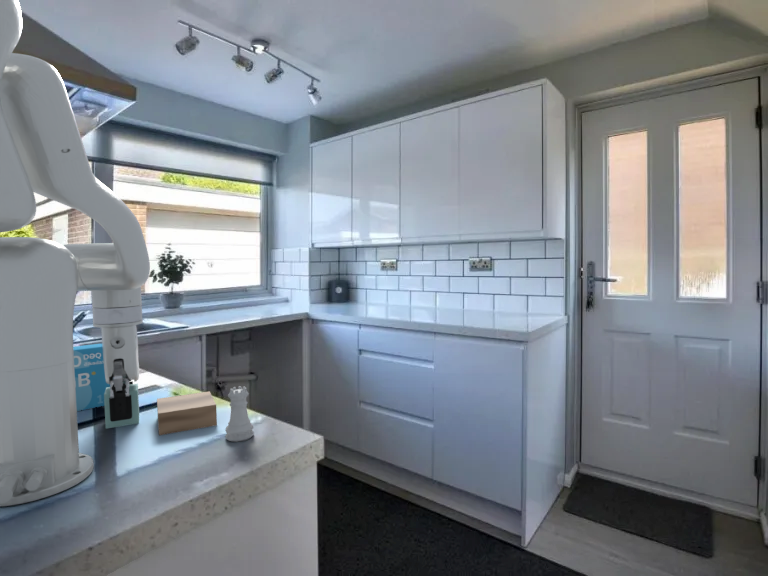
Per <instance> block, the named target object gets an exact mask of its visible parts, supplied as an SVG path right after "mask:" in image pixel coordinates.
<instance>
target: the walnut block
mask: <svg viewBox="0 0 768 576" xmlns="http://www.w3.org/2000/svg"><path fill="white" fill-rule="evenodd" d="M156 407H157V409H156V410H157V426H158V435H159V436H163V435H169V434H170V435H171V434H174V433H181V432H187V431H190V430H191V431H192V430H193V431H194V430H197V429H204V428H209V427H215V426H218V418H217V417H218V416H217V404H216V401H215V399H214V397H213V396H212V393H211V391H204V392H203V391H202V392H195V393H190V394H188V393H187V394H181V395H173V396H169V397H168V396H167V397H160V398H157V399H156Z"/></svg>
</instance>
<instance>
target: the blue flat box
mask: <svg viewBox="0 0 768 576" xmlns="http://www.w3.org/2000/svg"><path fill="white" fill-rule="evenodd" d="M73 351H74V370H75V389H76V407H77V412H80V411H81V410H82V411H85V410H86V409H87V410H91V409H90V408H92V409H96V408H95V407H97V408H101V406H102V407H105V405H104V393H105V390H106V387H110V385H109V384H107V383H106V379H105V371H104V361H103V348H102V343H94V344H86V345H85V344H84V345H78V346H77V345H76V346H73ZM113 379H114V377H113ZM82 411H81V412H82Z"/></svg>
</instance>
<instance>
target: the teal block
mask: <svg viewBox="0 0 768 576" xmlns="http://www.w3.org/2000/svg"><path fill="white" fill-rule="evenodd" d="M125 391H126V389H125ZM129 395H131V400H132V418H131V419H126V420H120V421H113V422H112V421H110V407H109V398H110V387H106V390H105V393H104V405H105V406H104V417H105V418H104V420H105V421H104V422H105V429H113V428H118V427H125V426H129V425H131V426H132V425H137V424H139V423H140V406H139V405H140V403H139V402H140V401H139V397H140V396H139V384H138V383H133V384H130V385H129Z"/></svg>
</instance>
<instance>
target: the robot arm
mask: <svg viewBox="0 0 768 576" xmlns="http://www.w3.org/2000/svg"><path fill="white" fill-rule="evenodd" d="M20 5H21V4H20V2H19V0H0V233H6V232H12V231H16V230H19V229H22V228H24V227H27V226H28V225H30V224H31V222H32V221H34V220H33V219H34V218H35V216H36V213H37V202H36V197H35V194H37V195H40V196H41V197H45V198H47V199H50V200H53V201H55V202H57V203H60V204H62V205H64V206H66V207H69V208H71V209H74V210H76V211H78V212H80V213H82V214H84V215H86V216H87V217H89V218H90V219H92V220H94V222H96V223H97V224H99V225H100V227H102V228H103V230H104V231H105V232H106V233H107V235H108V237H110V239H111V241H112V242H110V243H109V242H106V243H105V242H104V243H103V242H102V243H101V242H99V243H98V242H95V243H66V244H63V245H62V244H60V243H59V242H56V241H54V240H50V239H46V238H40V237H29V236H6V237H5V236H4V237H3V236H1V237H0V507H7V506H8V507H9V506H15V505H22V504H26V503H30V502H34V501H39V500H41V499H45V498H49V497H50V496H53V495H56V494H60V493H62V492H63V491H66V490H69V489H70V488H72V487H74V486H76V485H78V484H79V483H81V482H82V481H84V480H85V479H86V478H87V477H89V476H90V474H92V472H93V471H94V467H95V465H94V458H93V457H92V456H91V455H88V454H86V453H82V452H80V448H79V428H78V427H79V426H78V411H77V407H76V389H75V370H74V351H73V347H74V315H75V314H74V313H75V312H74V311H75V303H76V298H77V293H78V292H91V305H92V307H91V308H92V311H91V312H92V327H94V328H99V329H101V344H102V348H103V361H104V371H105V379H106V383H107V384H109V385H110V398H109V407H110V421H112V422H113V421H120V420H126V419H131V418H132V400H131V395H129V385H130V384H134V382H137V381H139V379H140V364H139V361H140V360H139V339H138V328H137V325H141V324H143V323H144V322H143V308H142V307H143V305H142V303H143V302H142V300H143V299H142V286H144V285H145V284H146V282H147V281H148V279H149V275H150V273H151V271H150V270H151V265H150V263H151V262H150V256H149V252H148V251H149V250H148V247H147V245H146V241H145V238H144V233H143V230H142V227H141V225H140V222H139V220H138V218H137V217H136V215H135V214H134V212H132V210H131V209H130V208H129V207H128V205H127V204H126V203H125V201H123V200H122V199H121V198H120V197H119V196H118V195H117V194H116V193H115V192H114V191H113V190H111V189H110V188H109V187H108V186H107V185H105V184H104V183H103V182H101V181H100V180H99V179H98V178H97V176H96V175H95V174H94V173H93V170H92V169H91V166H90V162H89V159H88V155H87V152H86V149H85V146H84V142H83V140H82V136H81V133H80V131H79V130H80V129H79V127H78V124H77V123H78V122H77V121H76V117H75V113H74V110H73V109H72V105H71V101H70V98H69V95H68V92H67V88H66V86H65V83H64V80H63V79H62V77H61V74H60V73H59V72H58V70H57V68H55V67H54V66H53V65H52V64H50V63H49V62H48V61H46V60H44V59H41V58H39V57H36V56H33V55H28V54H22V53H17V52H15V53H14V50H15V49H16V46H17V45H18V43H19V41H20V38H21V35H22V30H23V17H22V10H21V9H22V8H21V6H20ZM113 377H114V379H113ZM133 380H134V382H133ZM125 389H126V391H125Z"/></svg>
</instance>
